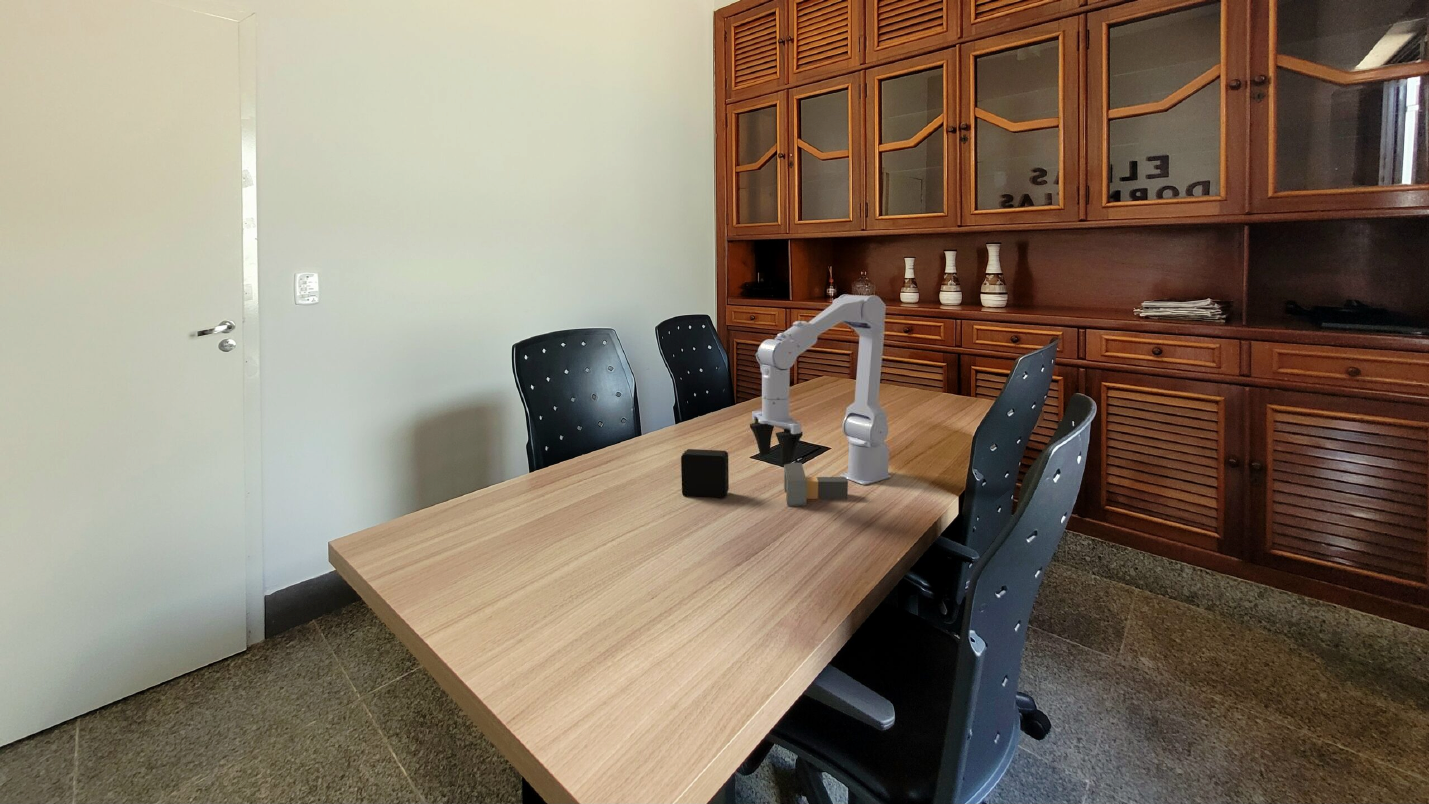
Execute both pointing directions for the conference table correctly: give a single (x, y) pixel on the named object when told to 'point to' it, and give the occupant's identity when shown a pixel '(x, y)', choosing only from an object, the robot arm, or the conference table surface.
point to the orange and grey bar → (827, 488)
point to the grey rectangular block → (795, 484)
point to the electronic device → (705, 473)
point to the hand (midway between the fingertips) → (775, 459)
